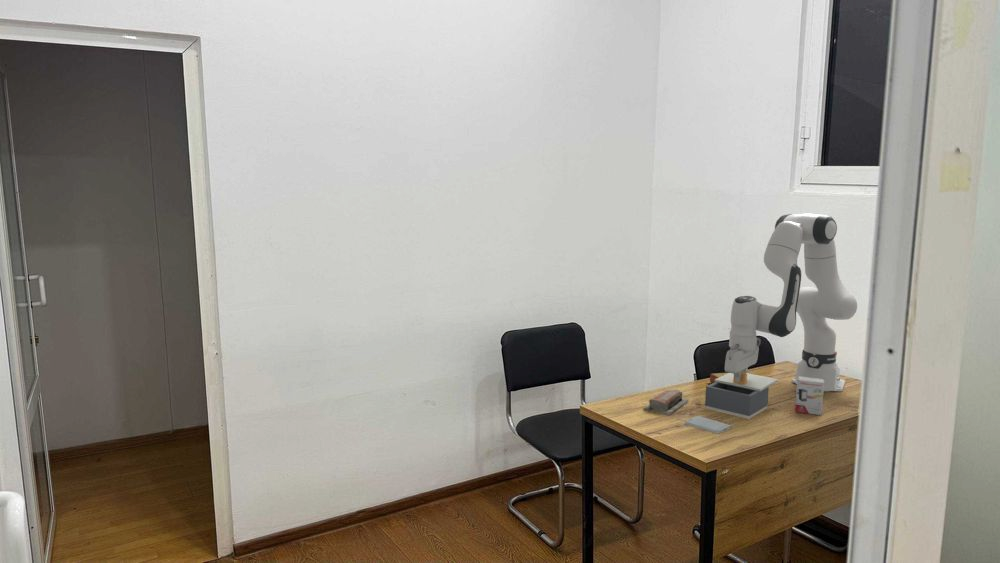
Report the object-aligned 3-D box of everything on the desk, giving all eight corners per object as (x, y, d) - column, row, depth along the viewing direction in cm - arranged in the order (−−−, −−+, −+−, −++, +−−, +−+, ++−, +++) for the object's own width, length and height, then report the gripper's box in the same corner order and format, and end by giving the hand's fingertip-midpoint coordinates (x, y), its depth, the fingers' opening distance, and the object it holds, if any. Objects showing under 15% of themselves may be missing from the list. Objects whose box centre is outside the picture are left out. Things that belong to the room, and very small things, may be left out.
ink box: (794, 412, 237) (797, 379, 235) (794, 408, 241) (797, 375, 240) (822, 415, 233) (824, 382, 232) (821, 411, 238) (824, 378, 236)
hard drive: (684, 420, 224) (719, 430, 215) (697, 415, 229) (731, 424, 220) (684, 425, 224) (719, 435, 215) (697, 420, 229) (731, 429, 221)
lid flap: (733, 372, 256) (734, 361, 256) (778, 381, 245) (779, 369, 245) (714, 381, 244) (715, 370, 244) (760, 391, 233) (761, 379, 233)
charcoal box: (724, 398, 251) (725, 377, 250) (767, 408, 241) (768, 386, 240) (704, 408, 240) (706, 386, 239) (749, 419, 229) (750, 396, 228)
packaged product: (671, 403, 231) (643, 397, 237) (670, 417, 232) (643, 411, 237) (689, 390, 246) (663, 385, 251) (688, 403, 246) (662, 398, 252)
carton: (728, 382, 273) (728, 372, 272) (750, 394, 257) (751, 383, 257) (709, 383, 271) (710, 373, 271) (731, 395, 256) (731, 384, 255)
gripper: (739, 348, 229) (736, 388, 230) (762, 339, 244) (760, 376, 245) (721, 345, 233) (718, 384, 235) (745, 336, 248) (743, 373, 250)
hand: (740, 380), depth 240 cm, fingers closed on lid flap, 2 cm apart
